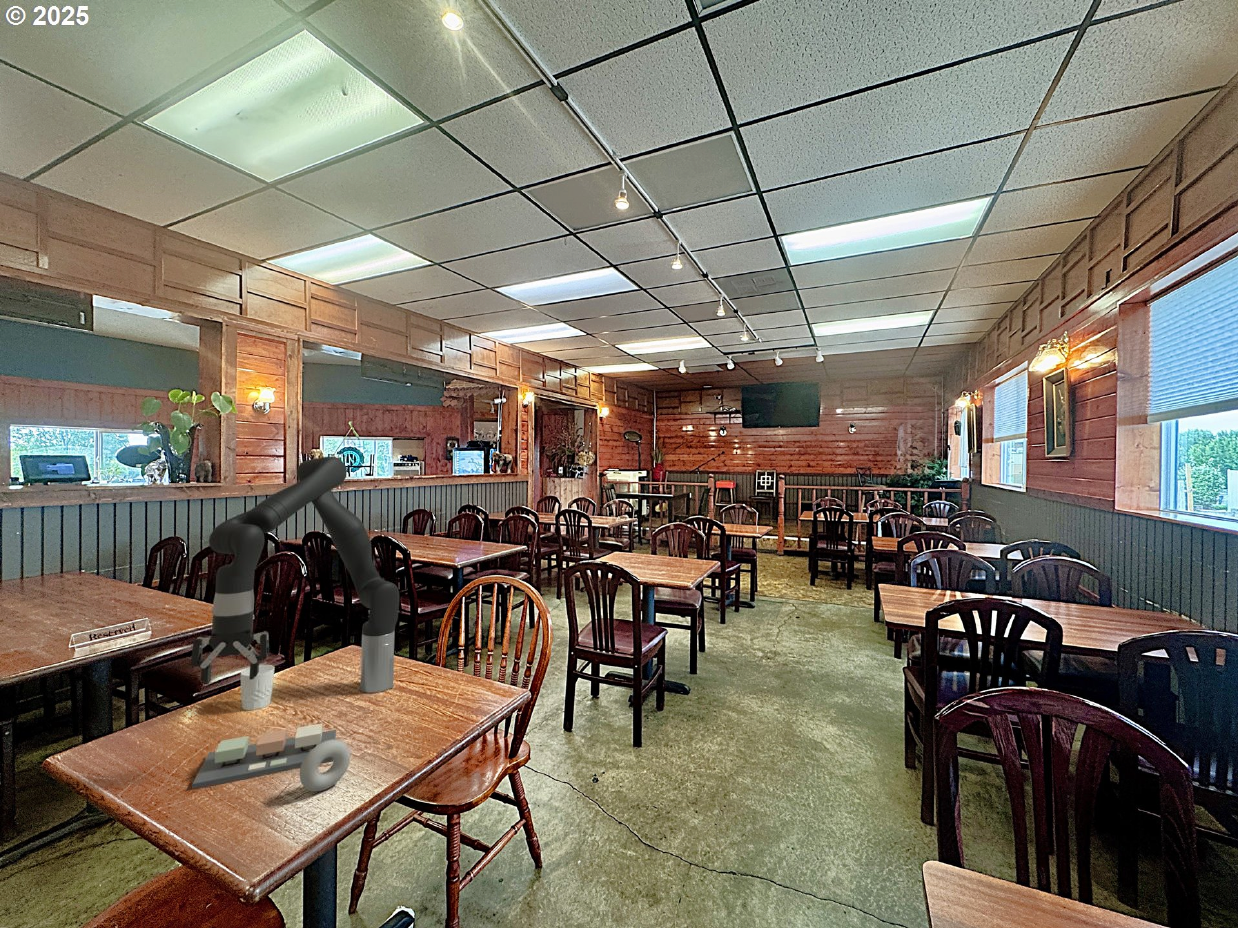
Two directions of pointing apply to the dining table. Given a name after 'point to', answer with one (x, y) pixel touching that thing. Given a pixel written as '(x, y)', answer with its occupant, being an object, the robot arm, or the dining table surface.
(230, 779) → the keypad plate
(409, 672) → the dining table surface
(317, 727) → the cream key
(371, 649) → the robot arm
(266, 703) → the white cup
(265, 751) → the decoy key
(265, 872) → the dining table surface
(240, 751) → the sage key
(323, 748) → the donut
